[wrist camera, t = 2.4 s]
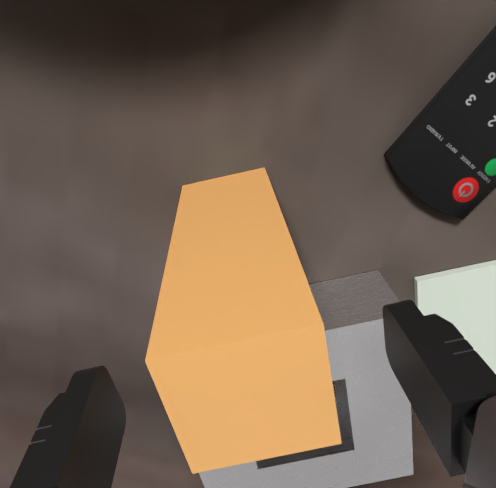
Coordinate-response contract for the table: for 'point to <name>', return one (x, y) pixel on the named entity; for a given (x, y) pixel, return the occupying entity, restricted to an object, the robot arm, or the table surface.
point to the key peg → (239, 331)
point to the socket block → (346, 401)
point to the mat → (464, 303)
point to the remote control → (453, 139)
